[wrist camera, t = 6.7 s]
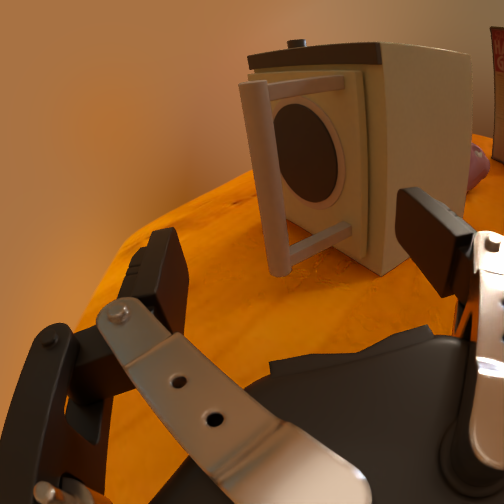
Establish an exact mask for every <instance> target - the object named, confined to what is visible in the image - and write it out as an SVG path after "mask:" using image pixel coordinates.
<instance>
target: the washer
mask: <svg viewBox="0 0 504 504" xmlns="http://www.w3.org/2000/svg"><path fill="white" fill-rule="evenodd" d="M287 44H288V49H284V50H278V51H271V52H265V53H259V54H254V55H249V56H247V58H248V64H249V69H250V70H252V69H254V72H255V73H267V72H282V71H304V70H355V71H362V75H363V85H364V97H365V111H366V128H367V153H368V226H367V252H366V256H365V257H363V258H362V259H359V258H357V257H355V256H354V255H352V254H350V253H349V252H347V251H345V250H344V249H342V248H340V247H339V246H337V245H336V244H335V245H333V247H334V248H336V249H338V250H339V251H341V252H342V253H344V254H346V255H347V256H349V257H350V258H352V259H354V260H355V261H357V262H358V263H360V264H362V265H363V266H365V267H366V268H368V269H370V270H371V271H373V272H374V273H376V274H377V275H379V276H383V275H384V274H386V273H387V272H389V271H390V270H392V269H393V268H395V267H396V266H398V265H399V264H401V263H402V262H403V261H405V260H406V259H408V258H409V257H410V256H409V255H408V254H407V253H406V251H405V250H404V249H403V248H402V246H401V245H400V244H399V243H398V241H397V238H396V235H395V215H396V198H397V192H398V190H399V189H402V188H410V187H419V188H421V189H422V190H423V191H425V192H426V193H427V194H428V195H430V196H431V197H432V198H433V199H436V200H438V201H440V202H442V203H444V204H445V205H446V206H447V207H449V208H450V209H451V211H453V212H455V213H456V214H457V215H458V217H461V218H463V213H464V206H465V200H466V192H467V184H468V176H469V166H470V154H471V140H472V111H473V108H472V107H473V90H472V63H471V55H470V54H465V53H460V52H454V51H450V50H444V49H438V48H431V47H424V46H417V45H409V44H399V43H389V42H357V43H341V44H327V45H316V46H306V40H305V39H299V40H290V41H287ZM286 219H288V220H289V221H291V222H293V223H294V224H296V225H298V226H300V227H301V228H303V229H305V230H306V231H308V232H310V233H311V234H313V235H314V234H317V233H315V232H314V231H312V230H310V229H309V228H307V227H305V226H303V225H302V224H300V223H298V222H297V221H295V220H293V219H291V218H290V217H288V216H286Z"/></svg>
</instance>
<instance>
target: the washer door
mask: <svg viewBox="0 0 504 504" xmlns="http://www.w3.org/2000/svg"><path fill="white" fill-rule="evenodd" d="M248 80H249V81H248V82H243V83H240V84H239V85H238V86H239V91H240V97H241V102H242V109H243V114H244V120H245V126H246V132H247V138H248V144H249V149H250V155H251V161H252V167H253V173H254V179H255V185H256V191H257V198H258V204H259V210H260V216H261V222H262V228H263V235H264V241H265V247H266V254H267V260H268V266H269V272H270V274H271V275H272V276H274V277H284V276H287V275H288V274H289V273H290V272H291V270H292V268H291V266H293V265H295V264H297V263H299V262H301V261H303V260H305V259H307V258H309V257H311V256H313V255H315V254H317V253H319V252H321V251H323V250H325V249H327V248H329V247H331V246H333V245H335V244H336V245H337V246H339V247H340V248H342V249H344V250H345V251H347V252H349V253H350V254H352V255H354V256H355V257H357V258H359V259H362V258H363V257H365V256H366V252H367V226H368V153H367V128H366V111H365V97H364V85H363V75H362V71H355V70H304V71H282V72H267V73H255V74H248ZM286 216H288V217H290V218H291V219H293V220H295V221H297V222H298V223H300V224H302V225H303V226H305V227H307V228H309V229H310V230H312V231H314V232H315V233H317V234H314V235H312V236H310V237H308V238H306V239H304V240H302V241H299V242H297V243H295V244H293V245H291V246H289V240H288V231H287V223H286Z"/></svg>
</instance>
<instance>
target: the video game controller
mask: <svg viewBox="0 0 504 504" xmlns="http://www.w3.org/2000/svg"><path fill="white" fill-rule="evenodd" d="M489 170H490V162H489V160H488V159H487V158H486V156H485V154H484V152H483V151H482V150H481V149H480V148H479V147H478V146H477V145H475V144H473V143H471V154H470V166H469V176H468V184H467V191H469V190H471V189H472V188H474V187H475V186H476V185H477V184H478V183H479V182H480V181H481V180H482V179H484V178H485V177H486V176H487V174H488V172H489Z"/></svg>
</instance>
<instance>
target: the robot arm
mask: <svg viewBox="0 0 504 504" xmlns="http://www.w3.org/2000/svg"><path fill="white" fill-rule="evenodd" d="M395 235H396V238H397V241H398V243H399V244H400V245H401V246H402V248H403V249H404V250H405V251H406V253H407V254H408V255H409V256H410V258H411V259H412V260H413V261H414V263H415V264H416V265H417V266H418V268H419V269H420V270H421V271H422V273H423V274H424V275H425V277H426V278H427V279H428V281H429V282H430V283H431V284H432V286H433V287H434V288H435V290H436V291H437V293H438V294H439V295H440V297H441V298H444V297H448V296H451V295H454V294H455V295H456V297H457V302H456V305H455V313H454V321H453V328H452V334H451V336H447V335H433V333H432V331H431V330H430V328H429V326H428V325H427V324H426V325H423V326H420V327H416V328H413V329H410V330H406V331H403V332H399V333H396V334H393V335H391V336H389V337H387V338H385V339H383V340H381V341H380V342H378V343H376V344H374V345H372V346H370V347H368V348H366V349H364V350H362V351H360V352H357V353H339V354H308V355H303V356H298V357H293V358H287V359H282V360H276V361H271V362H269V367H270V373H271V374H270V375H267V376H265V377H262V378H261V379H259V380H257V381H255V382H253V383H252V384H250V385H249V386H247V387H245V388H244V389H242V388H241V387H239V386H238V385H237V384H236V383H235V382H234V381H233V380H231V379H230V378H229V377H228V376H227V375H226V374H225V373H223V372H222V371H221V370H220V369H219V368H218V367H217V366H216V365H214V364H213V363H212V362H211V361H210V360H209V359H208V358H207V357H206V356H204V355H203V354H202V353H201V352H200V351H199V350H198V349H197V348H196V347H195V346H194V345H193V344H192V343H191V342H189V341H188V340H187V339H186V338H185V337H184V325H185V315H186V305H187V296H188V287H189V273H188V268H187V264H186V261H185V258H184V255H183V251H182V248H181V245H180V242H179V238H178V235H177V232H176V230H175V228H174V227H171V228H166V229H161V230H156V231H153V232H152V234H151V236H150V239H149V242H148V245H147V247H142V248H140V249H139V250H138V251H137V252H136V253H135V255H134V256H133V257H132V259H131V261H130V264H129V268H128V269H127V272H126V276H125V277H124V280H123V283H122V286H121V288H120V291H119V294H118V297H117V299H116V300H114V301H112V302H110V303H109V304H107V305H106V306H105V307H104V308H103V309H102V310H101V311H100V312H99V314H98V316H97V318H96V325H94V326H92V327H90V328H87V329H84V330H82V331H79V332H77V333H74V334H73V332H72V331H71V329H70V328H69V326H68V325H66V324H64V323H56V324H52V325H50V326H48V327H46V328H44V329H43V330H42V331H41V332H40V333H39V334H38V335H37V336H36V338H35V339H34V341H33V343H32V346H31V348H30V351H29V353H28V356H27V358H26V361H25V364H24V366H23V369H22V371H21V374H20V377H19V380H18V383H17V386H16V389H15V392H14V394H13V397H12V401H11V404H10V407H9V410H8V413H7V417H6V420H5V424H4V427H3V431H2V435H1V439H0V504H113V503H112V502H111V501H110V500H109V499H108V498H107V497H106V496H104V492H105V474H106V461H107V449H108V439H109V430H110V421H111V413H112V405H113V398H114V396H115V395H118V394H121V393H124V392H127V391H130V390H133V389H135V388H137V390H138V391H139V392H140V394H141V395H142V397H143V398H144V399H145V401H146V402H147V403H148V405H149V406H150V407H151V409H152V410H153V411H154V413H155V414H156V415H157V417H158V418H159V419H160V420H161V422H162V423H163V424H164V425H165V427H166V428H167V429H168V430H169V432H170V433H171V434H172V435H173V437H174V438H175V439H176V440H177V441H178V443H179V444H180V445H181V446H182V447H183V449H184V450H185V451H186V452H187V453H188V454H189V455H188V457H187V458H186V459H185V460H184V462H183V463H182V464H181V465H180V467H179V468H178V469H177V470H176V471H175V473H174V474H173V475H172V476H171V478H170V479H169V480H168V481H167V482H166V484H165V485H164V486H163V487H162V488H161V489H160V491H159V492H158V493H157V494H156V495H155V497H154V498H153V499H152V500H151V501H150V502H149V503H148V504H504V237H503V236H502V235H500V234H497V233H495V232H491V231H480V232H477V231H476V230H474V229H473V228H472V227H471V226H470V225H469V224H468V223H466V222H465V221H464V220H463V219H462V218H461V217H458V215H457V214H456V213H455V212H453V211H451V209H450V208H449V207H447V206H446V205H445V204H444V203H442V202H440V201H438V200H436V199H433V198H432V197H431V196H430V195H428V194H427V193H426V192H425V191H423V190H422V189H421V188H419V187H410V188H402V189H399V190H398V192H397V198H396V215H395ZM67 396H68V397H69V400H68V404H67V409H66V413H65V414H64V406H65V401H66V397H67Z"/></svg>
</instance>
